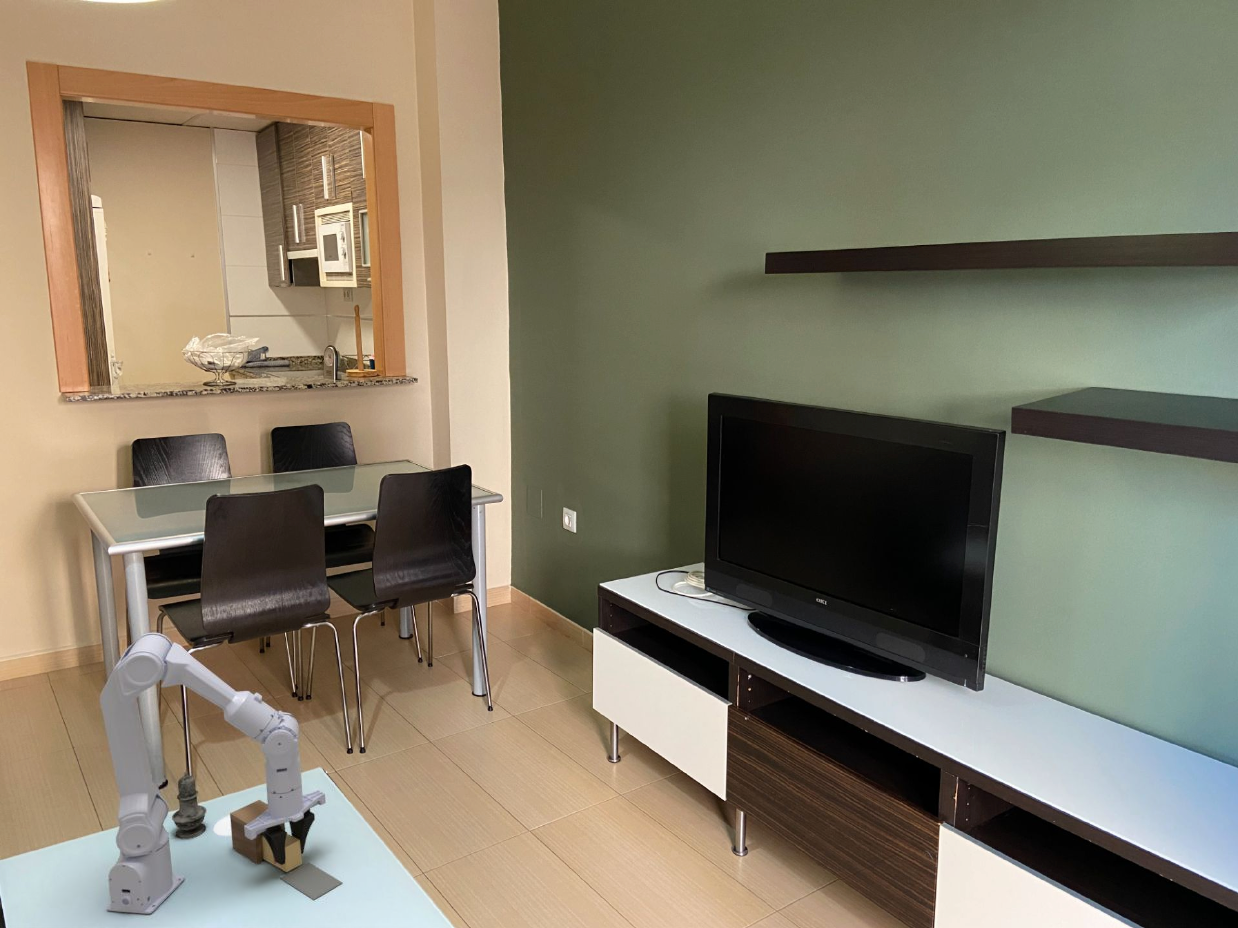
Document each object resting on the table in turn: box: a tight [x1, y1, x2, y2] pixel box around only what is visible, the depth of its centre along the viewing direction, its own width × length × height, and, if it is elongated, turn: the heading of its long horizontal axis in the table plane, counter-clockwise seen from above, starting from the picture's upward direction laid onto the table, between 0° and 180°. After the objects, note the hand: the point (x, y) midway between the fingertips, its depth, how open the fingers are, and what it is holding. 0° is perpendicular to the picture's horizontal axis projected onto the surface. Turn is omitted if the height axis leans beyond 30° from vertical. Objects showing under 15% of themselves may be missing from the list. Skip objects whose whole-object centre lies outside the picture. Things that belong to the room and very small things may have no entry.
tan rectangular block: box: [260, 833, 303, 873], centre depth 160 cm, size 3×12×4 cm, turn 53°
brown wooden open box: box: [229, 799, 286, 865], centre depth 163 cm, size 6×8×7 cm
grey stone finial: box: [171, 771, 207, 840], centre depth 168 cm, size 6×6×12 cm
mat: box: [280, 862, 343, 901], centre depth 154 cm, size 6×10×1 cm, turn 53°
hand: (289, 857), depth 157 cm, fingers closed on tan rectangular block, 3 cm apart
